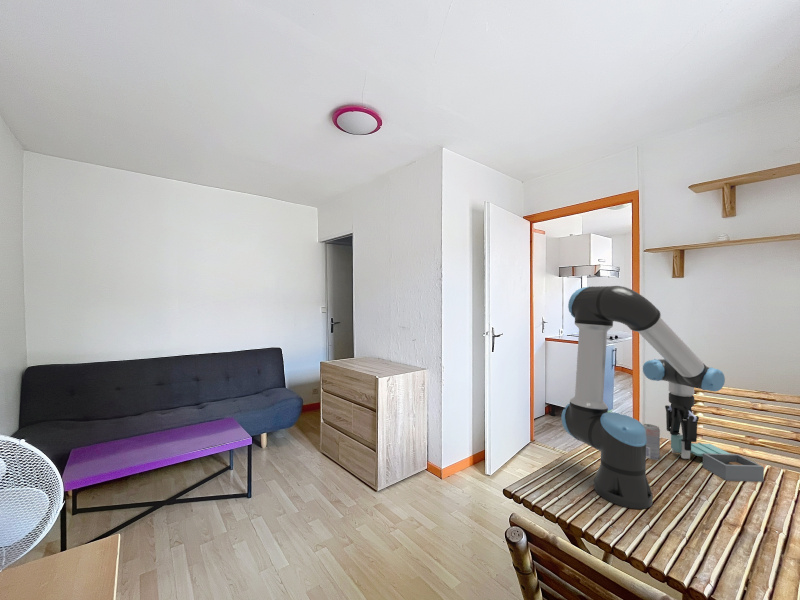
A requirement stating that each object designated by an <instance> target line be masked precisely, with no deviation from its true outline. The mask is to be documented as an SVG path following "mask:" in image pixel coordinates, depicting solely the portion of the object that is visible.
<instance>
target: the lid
mask: <svg viewBox="0 0 800 600" xmlns="http://www.w3.org/2000/svg"><path fill="white" fill-rule="evenodd" d="M681 439H682V440H683V435H682V434H680V435H671V434H670V448H671V450H672V449H674V450H676V451H677V452H680V453H681ZM703 453H709V454H731V453H729V452H727V451H726V450H724V449H723V448H722V449H721V448H720V447H718V446H716V445H713V444H711V443H701V442H698V443H696V442H691V451H690V454H693V455H695V456H697V457H703Z"/></svg>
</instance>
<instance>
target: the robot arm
mask: <svg viewBox="0 0 800 600" xmlns="http://www.w3.org/2000/svg"><path fill="white" fill-rule="evenodd" d="M567 309H568V311H569V313H570V315H571V317H573V318H574V325H575V326H576V327H577V329H578V338H577V339H578V342H577V357H576V371H575V373H576V375H575V387H574V388H575V389H574V396H573V397H572V398H570V399H569V404H567V405H565V407H564V408H563V410H562V412H561V419H560V420H561V425H562V427H563V429H564V431H565V432H567V433H566V434H568V435H570V436H572V437H573V438H574V439H575V440H577V441H580V442H582V443H584V444H586V445H587V446H590V447H592V448H594V449H596V450H598V451H600V464H599V467H598V469H597V471H596V475H595V477H594V479H593V489H594V491H595V492H596V493H597V494H598V495H599V496H600V497H602V498H603V499H604V500H606V501H608V502H610V503H612V504H614V505H618V506H621V507H623V508H629V509H634V510H635V509H636V510H642V509H648V508H651V507H652V505H653V501H654V499H653V497H654V496H653V492H652V489H651V487H650V484H649V481H648V477H647V475H646V474H647V473H646V468H647V466H646V462H647V458H646V443H647V439H646V431H645V428H644V426H643V425H644V424H643V423H642V422H640V421H639V420H638V419H636V418H634V417H632V416H629V415H626V414H621V413H620V412H613V411H611V412H610V411H609V412H608V409H609V406H608V405H607V404H606V403H605V401H604V393H605V392H604V391H605V377H606V376H605V374H606V373H605V372H606V359H607V358H606V356H607V341H608V338H607V337H608V336H607V335H608V331H609V330H611V328H613V327H614V322H615V323H621V324H623V325H625V326H626V327H628V328H629V330H631V331H633V332H638V333H639V334H640V336H641V337H642V338H643V339H644V340H645V341H646V342H647V343H648V344H649V346H651V347H652V348H653V349H654V350H655V351H656V352H657V353H658V354H659V355H660V356H661V359H660V358H659V359H655V358H654V359H650V360H649V359H648V360H647V361H645V362H644V363H643V365H642V372H643V374H644V376H645V378H647V379H648V380H650V381H657V382H659V381H660V382H661V381H664V382H668V391H669V393H668V403H670V405H665V406H664V408H665V415H666V424H665V425H666V431H667V432H669V434H670V436H671V435H683V440H682V439H681V452H677V451H676V450H674V449H672V448H671V453H674V454H680V457H681V459H688V460H689V459H691V453H690V451H691V443H696V442H697V440H698V439H697V434H698V422H699V419H700V416H698V415H695V414H694V413H693V410H692V408H693V407H694V406H695V396H694V395H695V389H700V390H702V391H710V392H715V393H716V392H719V391H720V390H722V389H723V387H724V385H725V383H726V381H725V380H726V378H725V374H724V373H723V371H722V370H720V369H718V368H715V367H709V366H707V365H706V364H705V363H704V362H703V361H702V360H701V359H700V358H699V357H698V356H697V355H696V354H695V353H694V351H692V349H691V348H690V347H689V346H688V345H687V344H686V343H685V342H684V341H683V340H682V339H681V338H680V337H679V335H678V334H676V332H674V330H673V329H672V328H671V327H670V326H669V324H667V323H666V321H664V320H663V318H661V317H662V314H661V311H660V310H659V309H658V308H657V307H656V306H655V305H654V304H653V303H652V302H651V301H649V300H648V299H647V298H646V297H645V296H644V295H642V294H640V293H638V292H637V291H635V290H633V289H631V288H628V287H626V286H621V285H608V286H607V285H604V286H600V285H599V286H587V287H581V288H578V289H576V290H575V291H574V292H573V293H572V294H571V296H570V298H569V299H568V306H567ZM662 358H663V359H662ZM680 428H681V433H682V434H681V433H680Z"/></svg>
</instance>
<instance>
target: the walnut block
mask: <svg viewBox="0 0 800 600" xmlns="http://www.w3.org/2000/svg"><path fill="white" fill-rule="evenodd" d="M728 465H742V464H740V463H737V462H729V463H728Z"/></svg>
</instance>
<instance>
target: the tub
mask: <svg viewBox="0 0 800 600" xmlns="http://www.w3.org/2000/svg"><path fill="white" fill-rule="evenodd" d="M729 462H737V463H740V464H742V465H728V463H729ZM702 468H704V469H705V470H707V471H709V472H710V473H712V474H714V475H715V476H717V477H719V478H721V479H722V480H724V481H731V482H737V481H738V482H754V483H755V482H756V483H757V482H759V483H760V482H761V483H764V481H765V480H764V478H765V477H764V475H765V472H764V471H765V467H764V466H763V465H761V464H758V462H755V461H752V460H751V459H748V458H746V457H744V456H742V455H740V454H738V453H730V454H709V453H703V456H702Z"/></svg>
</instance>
